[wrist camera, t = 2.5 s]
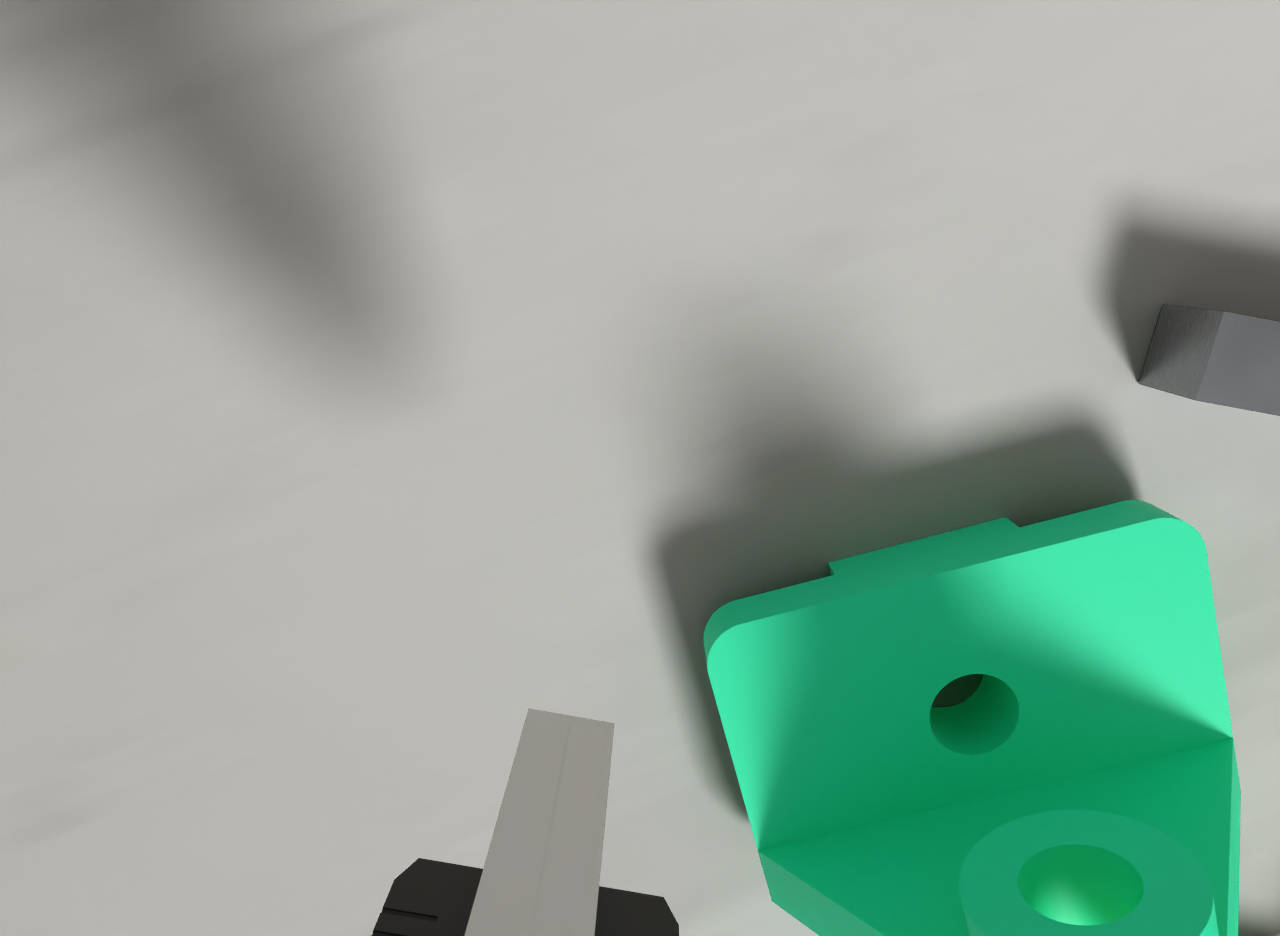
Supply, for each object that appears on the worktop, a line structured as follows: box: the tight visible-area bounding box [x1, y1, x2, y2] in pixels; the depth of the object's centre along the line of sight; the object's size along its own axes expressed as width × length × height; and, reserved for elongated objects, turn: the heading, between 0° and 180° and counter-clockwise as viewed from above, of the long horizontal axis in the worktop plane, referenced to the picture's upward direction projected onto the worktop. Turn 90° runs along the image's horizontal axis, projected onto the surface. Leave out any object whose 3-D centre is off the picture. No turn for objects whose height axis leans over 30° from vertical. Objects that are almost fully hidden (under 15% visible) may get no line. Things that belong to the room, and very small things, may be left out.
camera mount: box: [703, 500, 1241, 936], centre depth 21 cm, size 12×8×10 cm, turn 105°
